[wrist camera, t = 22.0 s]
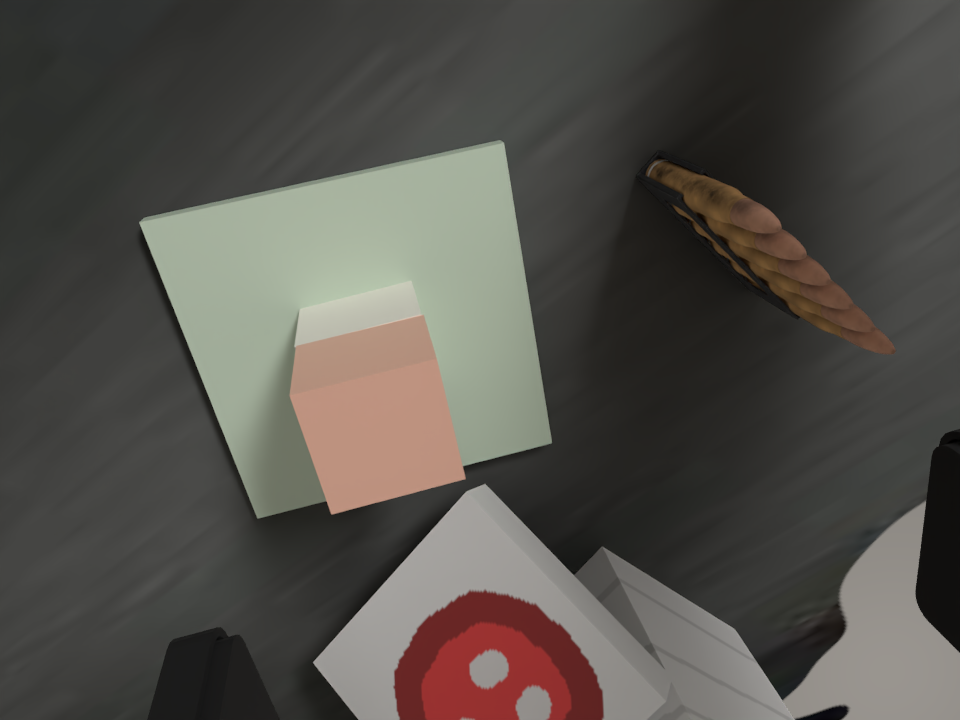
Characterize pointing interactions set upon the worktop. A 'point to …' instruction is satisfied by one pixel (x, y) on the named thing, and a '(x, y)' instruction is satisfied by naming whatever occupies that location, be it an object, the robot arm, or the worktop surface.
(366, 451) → the coral brick
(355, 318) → the cream brick
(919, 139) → the worktop surface
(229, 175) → the worktop surface
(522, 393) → the base plate
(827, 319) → the ammunition clip
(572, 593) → the pizza boxes
